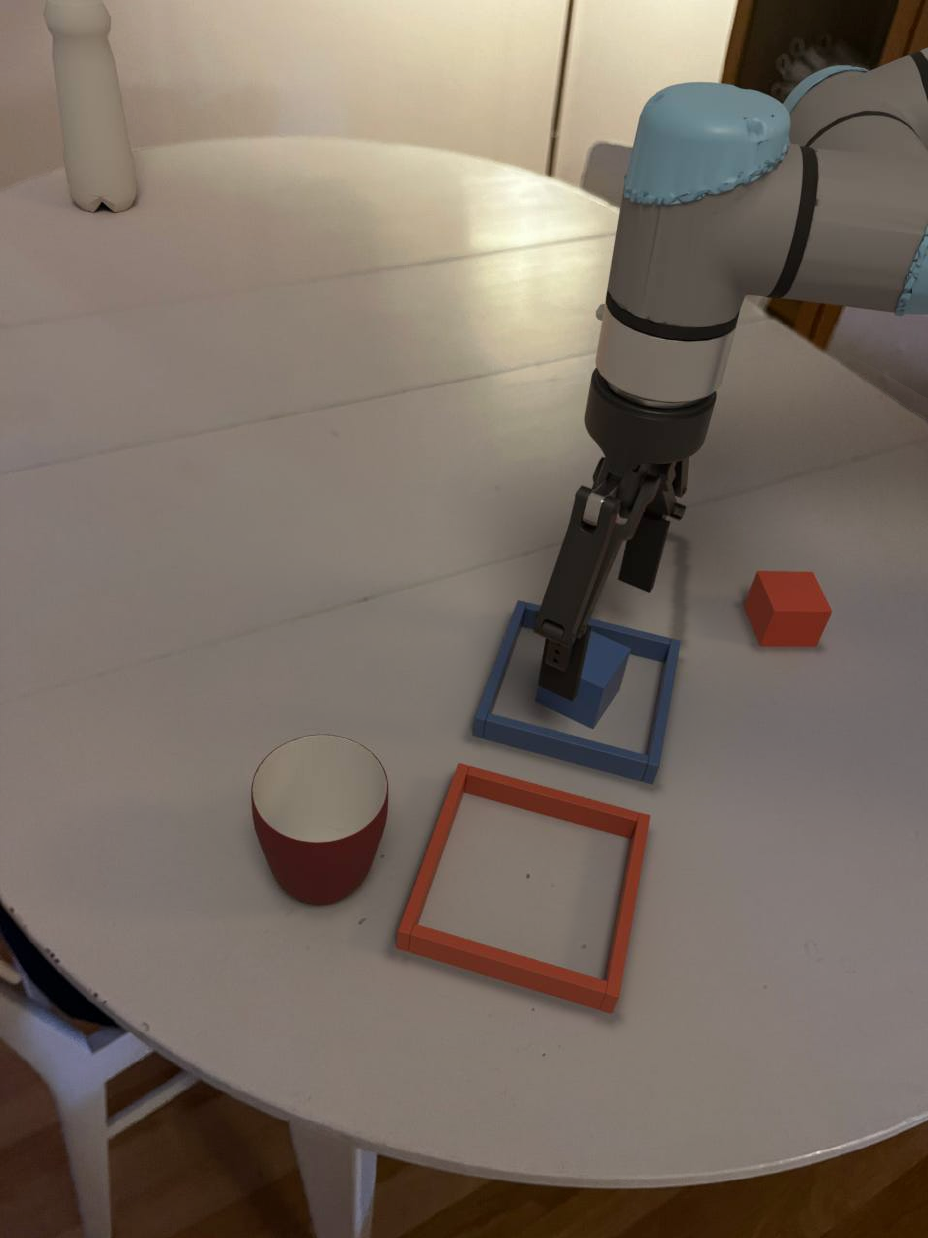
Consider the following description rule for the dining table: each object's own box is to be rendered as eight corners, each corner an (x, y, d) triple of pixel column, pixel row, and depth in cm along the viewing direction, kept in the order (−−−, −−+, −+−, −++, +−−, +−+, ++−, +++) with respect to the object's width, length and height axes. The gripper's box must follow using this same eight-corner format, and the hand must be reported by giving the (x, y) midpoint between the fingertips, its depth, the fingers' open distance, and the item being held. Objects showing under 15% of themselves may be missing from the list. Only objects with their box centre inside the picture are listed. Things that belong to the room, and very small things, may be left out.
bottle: (74, 189, 143) (30, -64, 123) (141, 190, 145) (109, -59, 124) (67, 215, 137) (21, -47, 116) (138, 216, 138) (104, -42, 118)
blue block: (618, 693, 81) (631, 648, 77) (592, 733, 77) (603, 688, 74) (562, 666, 82) (572, 621, 79) (534, 704, 79) (543, 659, 76)
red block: (794, 614, 90) (813, 571, 87) (813, 654, 87) (832, 611, 83) (740, 613, 90) (756, 570, 86) (756, 654, 86) (774, 610, 83)
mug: (307, 786, 72) (304, 691, 65) (414, 822, 71) (422, 728, 64) (236, 911, 65) (225, 817, 58) (354, 953, 63) (357, 863, 56)
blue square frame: (672, 666, 84) (681, 640, 82) (650, 792, 74) (659, 766, 72) (513, 625, 86) (517, 599, 84) (471, 743, 76) (474, 717, 74)
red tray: (641, 840, 71) (650, 815, 69) (609, 1021, 61) (619, 997, 59) (455, 788, 73) (458, 762, 71) (395, 955, 63) (397, 930, 61)
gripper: (675, 285, 70) (621, 529, 84) (498, 451, 54) (469, 718, 68) (780, 317, 67) (706, 563, 82) (629, 502, 51) (569, 768, 66)
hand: (598, 634), depth 75 cm, fingers open, 13 cm apart
